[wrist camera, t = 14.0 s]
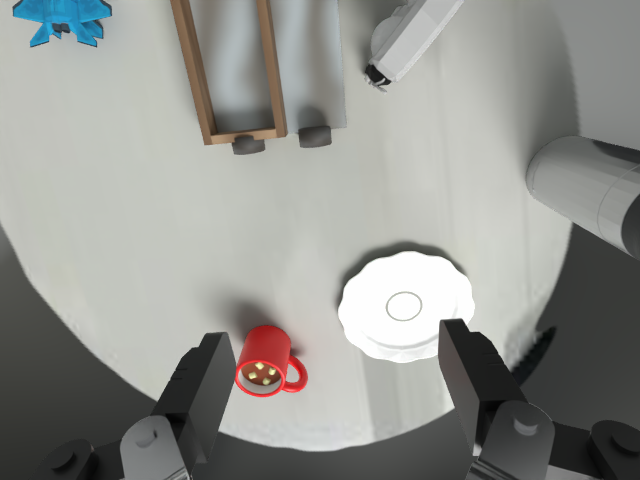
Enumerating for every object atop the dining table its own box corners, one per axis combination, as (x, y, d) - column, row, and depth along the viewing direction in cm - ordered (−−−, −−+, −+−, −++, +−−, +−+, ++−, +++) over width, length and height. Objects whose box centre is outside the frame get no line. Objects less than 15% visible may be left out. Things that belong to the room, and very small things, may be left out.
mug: (299, 375, 63) (295, 413, 56) (238, 350, 61) (226, 385, 53) (320, 346, 60) (318, 382, 52) (256, 318, 58) (245, 352, 50)
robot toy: (417, -32, 37) (465, -97, 24) (446, -1, 38) (509, -46, 25) (344, 69, 42) (350, 63, 28) (373, 94, 43) (391, 100, 29)
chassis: (333, -55, 37) (333, -70, 33) (347, 138, 45) (348, 143, 41) (170, -31, 38) (153, -43, 34) (212, 152, 46) (202, 158, 43)
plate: (497, 303, 55) (501, 309, 53) (399, 373, 62) (401, 380, 60) (408, 220, 50) (410, 225, 48) (312, 307, 57) (312, 314, 55)
